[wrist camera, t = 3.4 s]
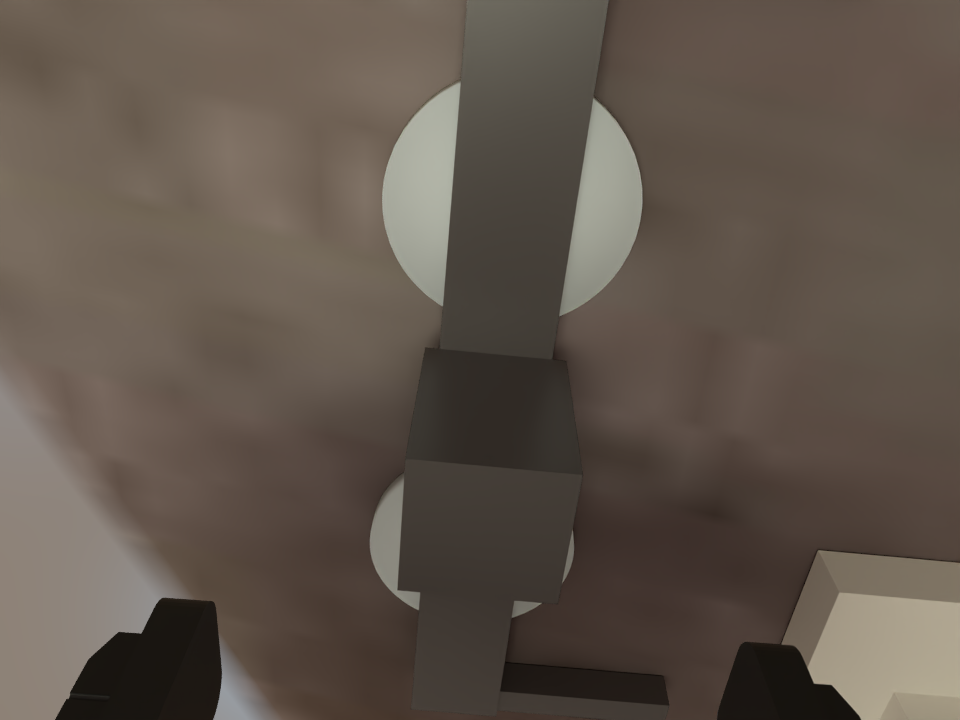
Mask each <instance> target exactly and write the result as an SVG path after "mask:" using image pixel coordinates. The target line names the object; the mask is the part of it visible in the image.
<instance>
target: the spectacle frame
mask: <svg viewBox="0 0 960 720" xmlns="http://www.w3.org/2000/svg"><path fill="white" fill-rule="evenodd" d="M608 2H609V0H467V9H466V22H465V34H464V47H463V60H462V72H461V79H460V80H457V81H455V82H454V83H452V84H450V85H448V86H447V87H445V88H443V89H442V90H440V91H439V92H438V93H436V94H435V95H434V96H432V97H431V98H430V99H428V100H427V101H426V102H425V103H424V104H423V105H422V106H421V107H420V108H419V109H418V110H417V111H416V113H415V114H414V115H413V117H412V118H411V119H410V121H409V122H408V123H407V125H406V126H405V128H404V130H403V132H402V133H401V135H400V137H399V139H398V140H397V143H396V145H395V147H394V149H393V152H392V154H391V157H390V159H389V162H388V165H387V169H386V173H385V177H384V184H383V193H382V206H383V217H384V223H385V229H386V232H387V236H388V239H389V242H390V245H391V247H392V249H393V252H394V254H395V256H396V258H397V260H398V261H399V263H400V265H401V266H402V268H403V269H404V271H405V273H406V274H407V275H408V276H409V277H410V279H411V280H412V281H413V282H414V284H415V285H416V286H417V287H418V288H420V289H421V290H422V291H423V292H424V293H425V294H426V295H427V296H428V297H430V298H431V299H432V300H434V301H435V302H436V303H438V304H439V305H441V306H443V312H442V324H441V337H440V349H435V348H425V353H424V358H423V364H422V369H421V375H420V380H419V386H418V391H417V397H416V402H415V408H414V413H413V419H412V424H411V430H410V435H409V441H408V446H407V452H406V457H405V471H404V472H403V473H402V474H401V475H400V476H398V477H397V478H396V479H395V480H394V481H393V482H392V483H391V484H390V485H389V486H388V488H387V489H386V490H385V492H384V493H383V495H382V496H381V498H380V500H379V502H378V505H377V508H376V511H375V514H374V518H373V523H372V528H371V534H370V552H371V557H372V561H373V564H374V566H375V569H376V571H377V573H378V575H379V576H380V578H381V580H382V581H383V582H384V583H385V585H386V586H387V587H388V589H390V590H391V591H392V592H393V593H394V594H395V595H396V596H397V597H398V598H399V599H401V600H402V601H403V602H405V603H406V604H408V605H410V606H411V607H413V608H415V609H416V610H419V614H418V627H417V639H416V652H415V664H414V677H413V690H412V702H411V709H412V710H424V711H436V712H448V713H460V714H472V715H484V716H495V717H496V714H497V711H509V712H521V713H533V714H545V715H557V716H569V717H580V718H592V719H604V720H665V719H666V716H667V712H668V709H669V701H668V696H667V691H666V687H665V682H664V677H663V676H654V675H642V674H630V673H619V672H607V671H595V670H584V669H572V668H560V667H549V666H537V665H525V664H514V663H505V657H506V650H507V644H508V637H509V631H510V625H511V618H513V617H516V616H518V615H521V614H524V613H526V612H528V611H530V610H532V609H534V608H536V607H537V606H539V605H540V604H542V603H547V604H558V601H559V596H560V591H561V586H562V583H563V581H564V580H565V578H566V577H567V574H568V572H569V570H570V568H571V564H572V561H573V555H574V537H573V524H574V519H575V514H576V509H577V504H578V498H579V493H580V488H581V483H582V478H583V472H582V465H581V458H580V451H579V444H578V437H577V431H576V424H575V417H574V410H573V403H572V397H571V390H570V383H569V376H568V369H567V362H566V361H562V360H552V358H553V352H554V345H555V339H556V333H557V326H558V320H559V316H562V315H564V314H566V313H568V312H570V311H572V310H575V309H576V308H578V307H579V306H581V305H583V304H584V303H586V302H587V301H589V300H590V299H591V298H593V297H594V296H595V295H596V294H598V293H599V292H600V291H601V290H602V289H603V288H604V287H605V286H606V285H607V284H608V283H609V282H610V281H611V280H612V279H613V277H614V276H615V275H616V273H617V272H618V271H619V269H620V268H621V267H622V265H623V263H624V262H625V260H626V258H627V256H628V255H629V253H630V251H631V248H632V246H633V243H634V241H635V239H636V236H637V232H638V228H639V224H640V219H641V212H642V183H641V177H640V171H639V167H638V164H637V160H636V157H635V154H634V152H633V150H632V148H631V145H630V143H629V141H628V139H627V137H626V135H625V134H624V132H623V131H622V129H621V127H620V126H619V124H618V123H617V121H616V119H615V118H614V117H613V116H612V114H611V113H610V112H609V111H608V110H607V108H606V107H605V106H604V105H603V104H602V103H601V102H600V101H598V100H597V99H596V98H595V97H594V91H595V85H596V79H597V72H598V66H599V59H600V53H601V47H602V40H603V34H604V28H605V21H606V15H607V9H608Z"/></svg>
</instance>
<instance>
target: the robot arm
mask: <svg viewBox="0 0 960 720" xmlns="http://www.w3.org/2000/svg"><path fill="white" fill-rule="evenodd" d="M221 679H222V668H221V657H220V646H219V635H218V625H217V614H216V607H215V604H214V602H213V601H201V600H187V599H174V598H162V599H160V600H159V601H158V603H157V604H156V606H155V608H154V610H153V612H152V614H151V616H150V618H149V620H148V622H147V624H146V626H145V628H144V630H143V632H142V634H139V633H125V632H118V633H117V634H116V635H115V636H114V637H113V638H111V640H109V641H108V642H107V643H106V644H105V645H104V646H103V647H102V648H101V649H99V650H98V651H97V652H96V653H95V654H94V655H93V656H92V657H91V658H90V659H89V660H88V661H87V663H86V665H85V667H84V669H83V671H82V672H81V674H80V676H79V677H78V679H77V681H76V683H75V685H74V686H73V688H72V690H71V692H70V697H69V699H66V701H65V703H64V705H63V706H62V708H61V710H60V712H59V714H58V716H57V717H56V719H55V720H213V718H214V715H215V712H216V709H217V705H218V700H219V695H220V689H221ZM717 720H861V718H860V716H859V715H858V714H857V713H856V712H855V710H854V709H853V708H852V707H851V706H850V705H849V704H848V703H847V701H846V700H845V699H844V698H843V697H842V696H841V695H840V694H839V693H838V691H837V690H836V689H835V688H834V687H833V686H832V685H827V684H814V682H813V680H812V678H811V675H810V673H809V671H808V668H807V666H806V664H805V661H804V659H803V657H802V655H801V653H800V651H799V650H798V649H797V648H796V647H795V646H793V645H781V644H767V643H753V642H744V643H742V644H741V646H740V647H739V650H738V652H737V655H736V658H735V661H734V664H733V667H732V670H731V673H730V676H729V679H728V682H727V685H726V688H725V691H724V694H723V697H722V700H721V703H720V706H719V710H718V717H717Z"/></svg>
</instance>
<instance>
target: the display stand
mask: <svg viewBox="0 0 960 720" xmlns="http://www.w3.org/2000/svg"><path fill="white" fill-rule="evenodd" d="M781 645H793V646H795V647H796V648H797V649H798V650H799V651H800V653H801V655H802V657H803V659H804V661H805V664H806V666H807V668H808V671H809V673H810V675H811V678H812V680H813V682H814V684H827V685H832V686H833V687H834V688H835V689H836V690H837V691H838V693H839V694H840V695H841V696H842V697H843V698H844V699H845V700H846V701H847V703H848V704H849V705H850V706H851V707H852V708H853V709H854V710H855V712H856V713H857V714H858V715H859V716H860V718H861V720H960V563H956V562H945V561H934V560H922V559H911V558H900V557H889V556H878V555H866V554H855V553H844V552H833V551H822V550H818V551H817V554H816V557H815V559H814V562H813V564H812V567H811V569H810V572H809V574H808V577H807V580H806V582H805V585H804V587H803V590H802V592H801V595H800V597H799V600H798V603H797V605H796V608H795V610H794V613H793V615H792V618H791V620H790V623H789V626H788V628H787V631H786V633H785V636H784V638H783V641H782V643H781Z"/></svg>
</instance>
